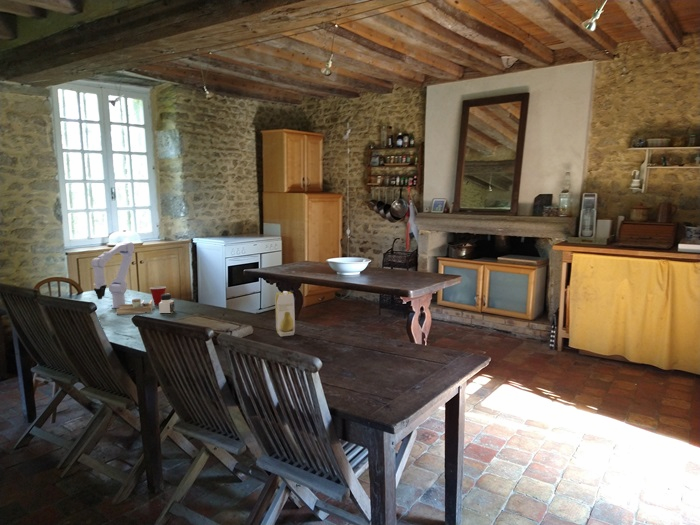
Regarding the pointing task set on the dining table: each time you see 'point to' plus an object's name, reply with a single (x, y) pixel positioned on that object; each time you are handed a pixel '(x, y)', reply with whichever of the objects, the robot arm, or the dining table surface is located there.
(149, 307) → the wooden crate
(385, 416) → the dining table surface
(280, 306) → the juice carton
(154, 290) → the plastic cup
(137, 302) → the jar
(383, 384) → the dining table surface
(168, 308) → the medicine bottle
